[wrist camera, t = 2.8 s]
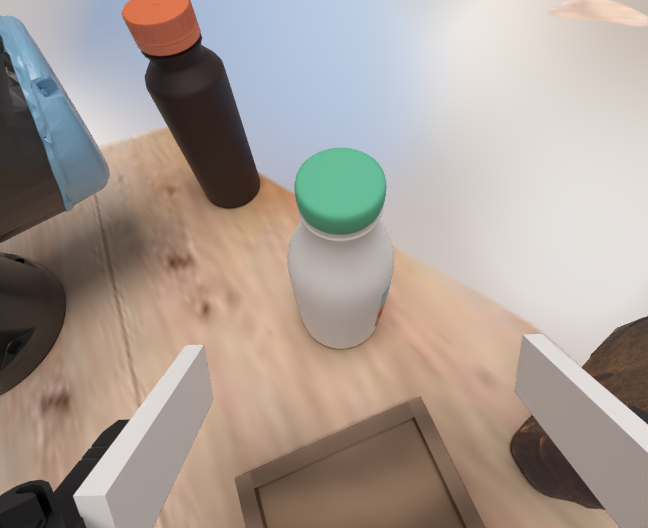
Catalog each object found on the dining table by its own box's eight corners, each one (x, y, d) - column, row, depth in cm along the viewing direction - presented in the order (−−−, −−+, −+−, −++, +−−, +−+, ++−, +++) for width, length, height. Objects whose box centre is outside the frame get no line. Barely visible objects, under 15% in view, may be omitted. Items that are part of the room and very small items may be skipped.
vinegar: (198, 179, 43) (99, -2, 25) (248, 158, 44) (186, -29, 27) (217, 218, 40) (119, 45, 23) (269, 194, 42) (216, 13, 24)
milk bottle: (360, 364, 32) (384, 274, 14) (288, 329, 34) (230, 210, 16) (390, 295, 35) (442, 149, 17) (323, 266, 37) (307, 107, 19)
